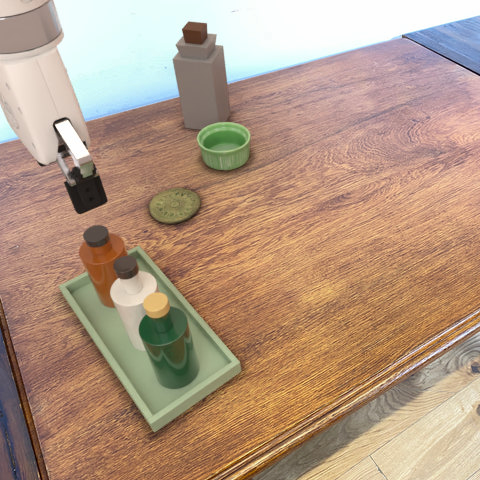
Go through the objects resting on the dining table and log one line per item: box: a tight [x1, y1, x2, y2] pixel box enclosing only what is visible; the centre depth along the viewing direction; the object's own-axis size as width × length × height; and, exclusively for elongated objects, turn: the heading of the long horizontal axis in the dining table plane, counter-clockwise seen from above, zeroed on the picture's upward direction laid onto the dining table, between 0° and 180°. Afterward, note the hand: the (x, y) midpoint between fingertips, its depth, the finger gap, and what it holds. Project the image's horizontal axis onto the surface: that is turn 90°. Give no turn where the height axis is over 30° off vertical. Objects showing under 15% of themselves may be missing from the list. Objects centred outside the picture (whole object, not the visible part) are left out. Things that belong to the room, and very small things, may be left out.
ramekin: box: [196, 121, 252, 171], centre depth 88 cm, size 9×9×4 cm
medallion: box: [148, 187, 202, 225], centre depth 80 cm, size 8×8×1 cm
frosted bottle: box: [110, 256, 160, 351], centre depth 58 cm, size 5×5×13 cm
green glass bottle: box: [139, 292, 199, 389], centre depth 55 cm, size 5×5×13 cm
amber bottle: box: [78, 224, 129, 308], centre depth 64 cm, size 5×5×11 cm
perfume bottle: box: [172, 20, 232, 131], centre depth 91 cm, size 7×7×18 cm
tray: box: [58, 245, 242, 433], centre depth 63 cm, size 24×11×2 cm, turn 42°
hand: (72, 183), depth 55 cm, fingers open, 9 cm apart
